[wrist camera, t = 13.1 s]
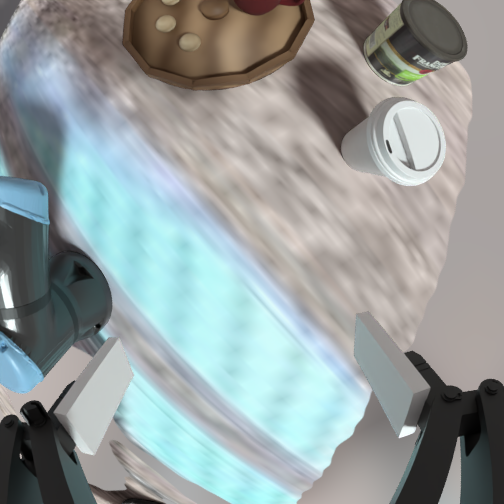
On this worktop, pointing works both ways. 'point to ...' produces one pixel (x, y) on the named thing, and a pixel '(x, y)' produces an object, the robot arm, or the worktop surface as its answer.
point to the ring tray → (214, 41)
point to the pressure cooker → (137, 501)
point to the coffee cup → (397, 142)
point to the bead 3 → (190, 42)
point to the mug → (263, 5)
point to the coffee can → (414, 42)
